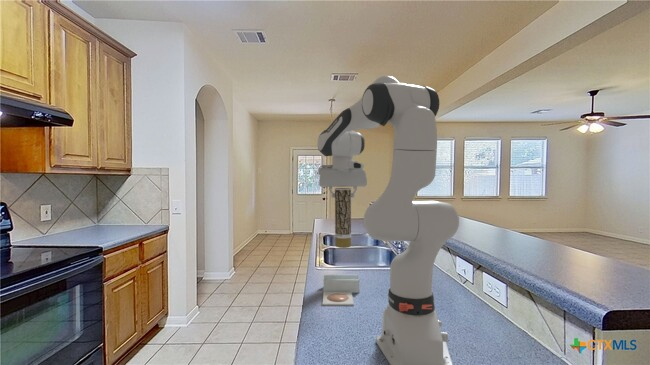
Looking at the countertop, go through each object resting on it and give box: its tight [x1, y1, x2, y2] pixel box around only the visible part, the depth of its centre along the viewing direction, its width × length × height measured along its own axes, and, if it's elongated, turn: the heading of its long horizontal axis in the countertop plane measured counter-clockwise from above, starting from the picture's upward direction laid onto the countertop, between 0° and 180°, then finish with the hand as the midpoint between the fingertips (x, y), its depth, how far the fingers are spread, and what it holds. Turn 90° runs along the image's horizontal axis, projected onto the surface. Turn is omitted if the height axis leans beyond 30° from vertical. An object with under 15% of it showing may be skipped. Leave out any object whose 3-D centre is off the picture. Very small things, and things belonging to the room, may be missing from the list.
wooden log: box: [334, 187, 352, 249], centre depth 136 cm, size 7×7×25 cm
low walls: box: [323, 274, 360, 294], centre depth 128 cm, size 7×14×5 cm, turn 88°
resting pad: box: [322, 291, 355, 307], centre depth 118 cm, size 11×11×1 cm
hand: (342, 197), depth 135 cm, fingers closed on wooden log, 7 cm apart
